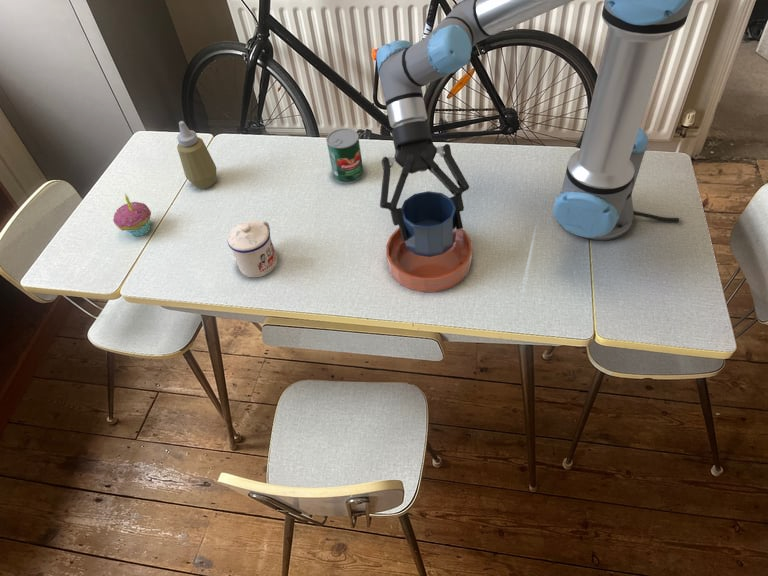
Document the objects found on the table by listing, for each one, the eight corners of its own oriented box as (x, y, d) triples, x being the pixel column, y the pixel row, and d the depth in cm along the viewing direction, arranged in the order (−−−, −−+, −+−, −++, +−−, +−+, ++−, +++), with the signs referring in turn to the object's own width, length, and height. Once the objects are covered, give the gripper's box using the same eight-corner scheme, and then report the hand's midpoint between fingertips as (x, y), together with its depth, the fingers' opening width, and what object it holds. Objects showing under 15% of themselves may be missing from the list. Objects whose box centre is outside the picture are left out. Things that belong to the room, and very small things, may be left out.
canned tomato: (345, 160, 152) (339, 124, 143) (369, 170, 148) (365, 133, 140) (326, 177, 148) (319, 141, 139) (351, 187, 144) (345, 151, 136)
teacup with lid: (268, 282, 126) (254, 244, 117) (231, 275, 128) (215, 237, 119) (290, 244, 133) (279, 206, 124) (255, 237, 135) (241, 199, 126)
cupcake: (164, 222, 141) (145, 184, 132) (142, 246, 137) (120, 207, 128) (137, 214, 144) (117, 176, 135) (114, 237, 139) (91, 199, 130)
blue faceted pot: (460, 224, 122) (460, 195, 116) (448, 260, 116) (447, 231, 110) (411, 217, 125) (409, 188, 119) (397, 251, 118) (394, 223, 112)
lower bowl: (478, 240, 129) (479, 225, 125) (460, 300, 118) (461, 286, 115) (401, 227, 133) (400, 213, 130) (377, 284, 123) (375, 270, 119)
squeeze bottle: (226, 177, 151) (205, 117, 137) (205, 195, 147) (181, 135, 133) (204, 169, 154) (181, 109, 141) (183, 186, 150) (157, 127, 137)
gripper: (461, 118, 119) (483, 223, 120) (351, 140, 117) (374, 247, 118) (470, 108, 111) (493, 221, 113) (352, 132, 109) (377, 246, 111)
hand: (432, 234), depth 116 cm, fingers closed on blue faceted pot, 11 cm apart
